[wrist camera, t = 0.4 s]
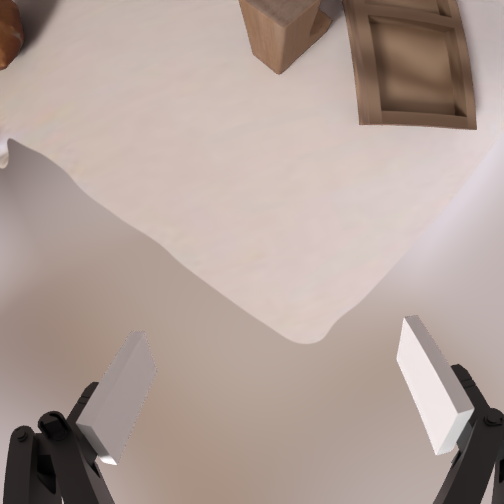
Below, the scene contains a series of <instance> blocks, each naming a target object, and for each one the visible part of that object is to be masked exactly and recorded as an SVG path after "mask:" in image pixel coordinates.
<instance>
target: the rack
mask: <svg viewBox="0 0 504 504" xmlns="http://www.w3.org/2000/svg"><path fill="white" fill-rule="evenodd" d="M342 1H343V6H344V11H345V17H346V22H347V28H348V34H349V40H350V46H351V53H352V60H353V68H354V76H355V84H356V93H357V103H358V113H359V125H401V126H424V127H439V128H452V129H469V130H477V125H476V111H475V100H474V90H473V82H472V75H471V68H470V61H469V55H468V50H467V45H466V40H465V35H464V30H463V26H462V21H461V17H460V13H459V9H458V5H457V2H456V0H342Z"/></svg>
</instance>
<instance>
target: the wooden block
mask: <svg viewBox="0 0 504 504" xmlns="http://www.w3.org/2000/svg"><path fill="white" fill-rule="evenodd" d="M239 3H240V7H241V11H242V14H243V18H244V22H245V25H246V29H247V33H248V37H249V41H250V45H251V49H252V52H253V55H254V56H256V57H257V58H258V59H259V60H261V61H262V62H263V63H264V64H266V65H267V66H268V67H269V68H270V69H272V70H273V71H274V72H275V73H276V74H282V73H283V72H284V71H285V70H286V69H287V68H288V67H289V66H290V65H291V64H292V63H293V62H294V61H295V60H296V59H297V58H298V57H299V56H300V55H301V54H303V53H304V52H305V51H306V50H307V49H308V48H309V47H310V46H311V45H312V44H313V43H314V42H316V41H317V40H318V39H319V38H320V37H321V36H322V35H323V34H325V33H326V31H327V29H328V27H329V26H330V24H331V21H332V20H331V19H330V18H329V17H328V16H327V15H326V14H325V13H323V12H322V11H321V10H319V9H318V8H319V5H320V3H321V0H239Z"/></svg>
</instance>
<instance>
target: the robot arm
mask: <svg viewBox="0 0 504 504" xmlns="http://www.w3.org/2000/svg"><path fill="white" fill-rule="evenodd" d="M397 362H398V364H399V366H400V368H401V371H402V373H403V375H404V378H405V380H406V382H407V385H408V387H409V389H410V391H411V394H412V396H413V398H414V401H415V403H416V406H417V408H418V411H419V413H420V416H421V418H422V420H423V423H424V425H425V428H426V431H427V433H428V436H429V438H430V441H431V444H432V446H433V449H434V451H435V454H436V455H439V454H443V453H446V452H449V451H452V449H453V448H454V446H455V444H456V443H457V445H458V448H459V451H458V452H457V454H456V456H455V457H454V459H453V460H452V462H451V463H453V464H452V466H451V468H450V471H449V472H448V475H447V477H446V479H445V481H444V483H443V485H442V487H441V489H440V491H439V493H438V495H437V497H436V499H435V501H434V502H433V504H480V503H481V500H482V498H483V495H484V493H485V490H486V487H487V484H488V481H489V479H490V476H491V473H492V470H493V467H494V464H495V476H494V488H493V496H492V504H504V414H503V413H502V412H501V411H499V410H497V409H495V408H490V407H489V405H488V404H487V402H486V400H485V399H484V397H483V395H482V394H481V392H480V390H479V389H478V387H477V386H476V384H475V382H474V381H473V380H472V377H471V376H470V374H469V373H468V371H467V370H466V369H465V368H463V367H462V366H461V365H459V364H457V365H452V366H450V365H449V364H448V362H447V360H446V359H445V357H444V356H443V354H442V352H441V351H440V349H439V347H438V346H437V344H436V343H435V341H434V340H433V338H432V337H431V335H430V334H429V332H428V330H427V329H426V327H425V326H424V324H423V323H422V321H421V320H420V319H419V317H418V316H417V315H415V316H407V317H404V320H403V326H402V333H401V338H400V344H399V349H398V354H397ZM156 373H157V369H156V366H155V363H154V360H153V357H152V354H151V351H150V348H149V345H148V341H147V338H146V335H145V332H144V331H131V333H130V334H129V336H128V337H127V339H126V340H125V342H124V344H123V345H122V347H121V348H120V350H119V352H118V353H117V355H116V357H115V358H114V360H113V361H112V363H111V364H110V366H109V368H108V369H107V371H106V373H105V374H104V376H103V377H102V379H101V381H100V382H92V383H91V384H90V385H89V386H88V387H87V388H85V390H84V392H83V393H82V395H81V397H80V398H79V400H78V401H77V403H76V405H75V406H74V408H73V409H72V411H71V413H70V414H69V416H68V418H67V419H65V418H64V416H63V415H62V414H61V413H60V412H57V411H51V412H48V413H46V414H44V415H43V416H42V417H41V418H40V419H39V421H38V428H39V429H40V430H41V432H42V433H34V431H33V430H32V429H31V427H29V426H20V427H18V428H16V429H15V430H14V431H13V433H12V435H11V438H10V444H9V451H8V458H7V466H6V473H5V483H4V496H3V504H62V498H63V501H64V504H115V503H114V501H113V499H112V497H111V494H110V492H109V490H108V488H107V486H106V484H105V481H104V479H103V477H102V474H101V472H100V470H99V467H98V465H97V463H96V462H95V459H96V457H97V455H98V456H99V457H100V459H101V460H102V462H105V463H109V464H114V465H118V463H119V460H120V458H121V456H122V453H123V451H124V448H125V446H126V443H127V441H128V439H129V436H130V434H131V431H132V429H133V427H134V424H135V422H136V420H137V417H138V414H139V412H140V410H141V408H142V405H143V403H144V401H145V398H146V396H147V394H148V392H149V389H150V387H151V385H152V382H153V380H154V378H155V375H156Z"/></svg>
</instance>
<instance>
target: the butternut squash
mask: <svg viewBox="0 0 504 504" xmlns="http://www.w3.org/2000/svg"><path fill="white" fill-rule="evenodd" d="M24 40H25V36H24V32H23V27H22V25H21V21H20V13H19V9H18V6H17V5H16V4H15V3H14V2H13V1H12V0H0V70H3V69H6V68H7V67H8V65H9V64H10V63H11V62H12V61H13V59H14V58H15V57H16V56H17V55H18V53H19V51H20V49H21V47H22V44H23V42H24Z"/></svg>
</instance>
